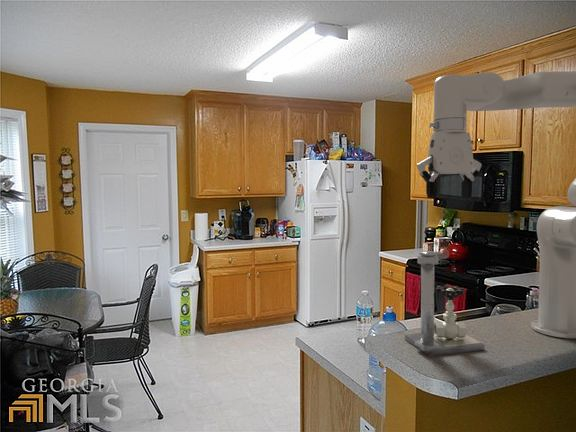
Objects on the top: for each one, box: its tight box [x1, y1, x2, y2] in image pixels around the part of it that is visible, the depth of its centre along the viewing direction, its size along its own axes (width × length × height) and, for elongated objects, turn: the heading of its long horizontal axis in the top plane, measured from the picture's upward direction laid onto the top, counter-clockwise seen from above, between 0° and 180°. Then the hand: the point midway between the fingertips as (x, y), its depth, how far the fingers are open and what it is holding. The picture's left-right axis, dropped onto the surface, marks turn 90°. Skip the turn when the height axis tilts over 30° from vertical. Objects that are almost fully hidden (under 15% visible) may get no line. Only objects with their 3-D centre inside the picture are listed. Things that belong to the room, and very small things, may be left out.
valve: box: [434, 284, 467, 339], centre depth 104 cm, size 7×7×12 cm
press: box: [404, 250, 485, 357], centre depth 104 cm, size 15×11×23 cm
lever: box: [417, 248, 450, 266], centre depth 102 cm, size 13×4×2 cm, turn 141°
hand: (449, 197), depth 110 cm, fingers open, 9 cm apart
